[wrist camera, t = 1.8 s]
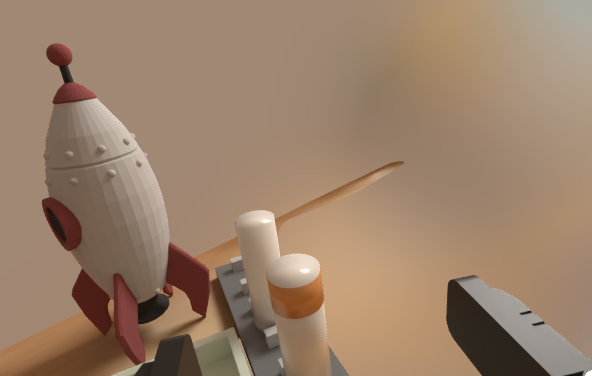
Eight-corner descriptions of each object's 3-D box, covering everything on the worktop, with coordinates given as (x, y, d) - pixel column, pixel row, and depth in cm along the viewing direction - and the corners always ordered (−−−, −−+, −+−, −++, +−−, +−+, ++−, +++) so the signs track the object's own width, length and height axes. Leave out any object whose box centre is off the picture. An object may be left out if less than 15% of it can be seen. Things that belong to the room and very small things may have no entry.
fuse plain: (261, 341, 32) (239, 233, 28) (251, 317, 36) (229, 217, 31) (296, 326, 34) (280, 220, 29) (283, 305, 37) (266, 206, 33)
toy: (88, 338, 38) (-38, 55, 27) (171, 284, 46) (98, 47, 35) (137, 386, 31) (-5, 36, 20) (225, 314, 39) (155, 32, 28)
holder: (296, 488, 22) (290, 460, 21) (217, 277, 46) (212, 258, 45) (382, 436, 25) (381, 408, 24) (265, 261, 48) (262, 243, 47)
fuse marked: (299, 425, 25) (277, 293, 20) (281, 385, 28) (258, 263, 24) (343, 402, 26) (330, 273, 22) (320, 366, 29) (306, 247, 25)
